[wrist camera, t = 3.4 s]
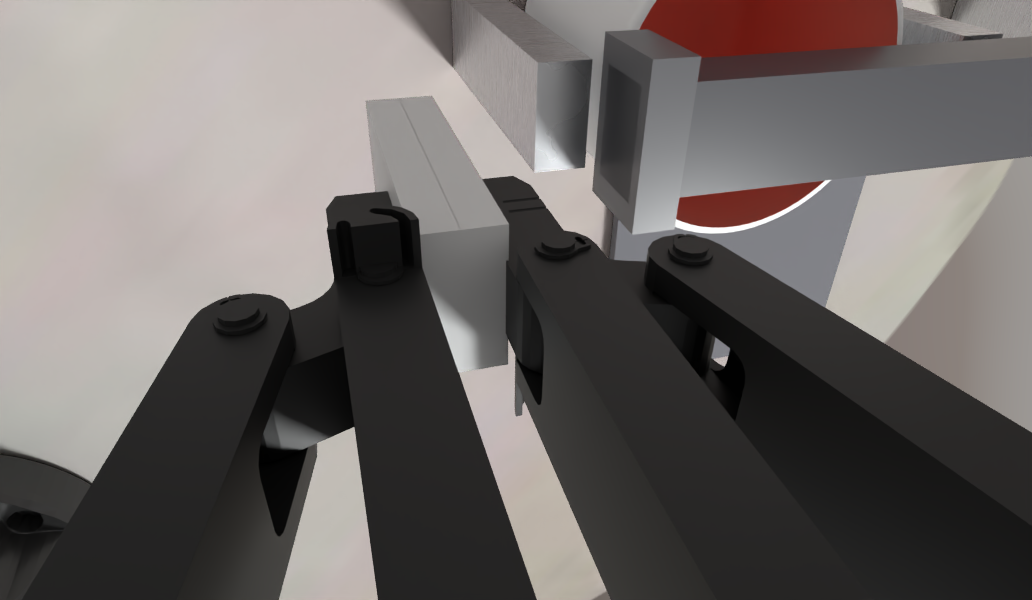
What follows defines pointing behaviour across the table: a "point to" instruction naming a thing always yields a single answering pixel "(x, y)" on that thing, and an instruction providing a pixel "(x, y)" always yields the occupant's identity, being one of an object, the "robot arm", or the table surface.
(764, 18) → the cup
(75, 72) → the table surface
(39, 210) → the table surface
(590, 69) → the posts
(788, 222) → the mat
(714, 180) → the bar
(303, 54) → the table surface
